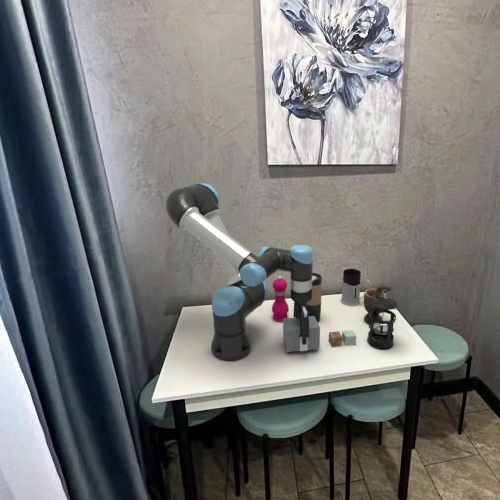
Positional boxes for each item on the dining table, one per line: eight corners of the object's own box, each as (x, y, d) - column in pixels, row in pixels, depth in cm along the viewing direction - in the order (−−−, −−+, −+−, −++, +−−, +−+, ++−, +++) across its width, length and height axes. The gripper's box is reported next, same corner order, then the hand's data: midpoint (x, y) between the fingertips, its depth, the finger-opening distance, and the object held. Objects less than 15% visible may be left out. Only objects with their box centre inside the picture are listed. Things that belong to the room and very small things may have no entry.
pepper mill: (289, 314, 156) (289, 273, 149) (287, 323, 150) (287, 280, 143) (273, 313, 158) (272, 271, 151) (270, 321, 151) (269, 278, 145)
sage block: (345, 345, 133) (345, 336, 132) (341, 339, 137) (342, 330, 136) (355, 345, 133) (356, 335, 132) (351, 339, 137) (352, 330, 136)
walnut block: (331, 347, 133) (332, 338, 131) (328, 341, 137) (328, 332, 135) (342, 346, 133) (342, 337, 132) (338, 340, 137) (339, 331, 136)
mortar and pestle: (393, 327, 143) (398, 282, 136) (374, 332, 141) (378, 286, 134) (375, 314, 153) (379, 271, 147) (358, 318, 151) (361, 275, 144)
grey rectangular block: (287, 351, 129) (286, 330, 126) (283, 339, 136) (282, 318, 133) (319, 348, 130) (320, 327, 127) (313, 336, 137) (314, 316, 134)
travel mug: (319, 314, 155) (321, 272, 148) (321, 324, 148) (322, 280, 141) (302, 314, 156) (302, 272, 149) (302, 323, 149) (303, 280, 142)
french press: (400, 347, 131) (407, 291, 123) (378, 353, 128) (383, 296, 120) (380, 331, 141) (385, 278, 133) (359, 336, 139) (363, 282, 131)
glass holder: (348, 295, 171) (349, 266, 166) (374, 305, 160) (377, 275, 155) (336, 301, 166) (338, 272, 160) (363, 312, 155) (365, 281, 150)
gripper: (319, 301, 116) (318, 359, 123) (304, 275, 135) (304, 327, 143) (297, 303, 115) (296, 361, 123) (285, 277, 135) (285, 329, 142)
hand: (300, 343), depth 133 cm, fingers closed on grey rectangular block, 8 cm apart
